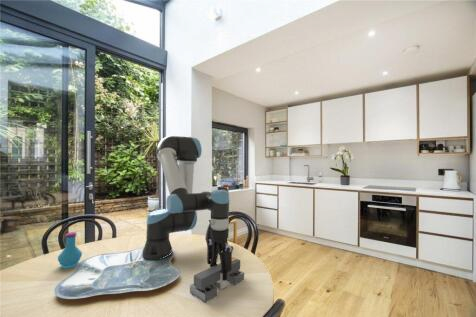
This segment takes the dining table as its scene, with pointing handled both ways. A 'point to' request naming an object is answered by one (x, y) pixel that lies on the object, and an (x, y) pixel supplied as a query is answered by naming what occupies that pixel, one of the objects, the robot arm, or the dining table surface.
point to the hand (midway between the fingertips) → (218, 284)
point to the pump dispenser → (208, 232)
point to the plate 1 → (202, 295)
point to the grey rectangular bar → (213, 275)
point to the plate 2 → (236, 277)
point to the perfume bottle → (70, 252)
